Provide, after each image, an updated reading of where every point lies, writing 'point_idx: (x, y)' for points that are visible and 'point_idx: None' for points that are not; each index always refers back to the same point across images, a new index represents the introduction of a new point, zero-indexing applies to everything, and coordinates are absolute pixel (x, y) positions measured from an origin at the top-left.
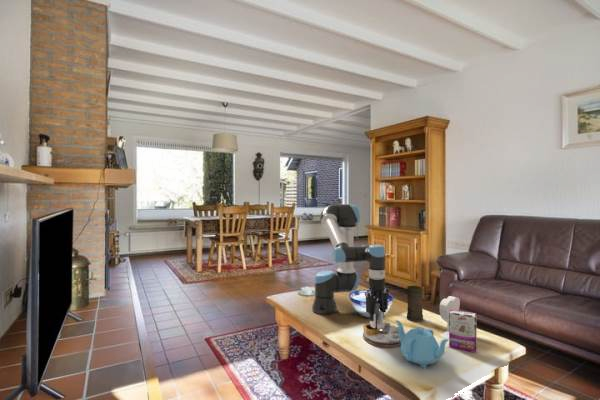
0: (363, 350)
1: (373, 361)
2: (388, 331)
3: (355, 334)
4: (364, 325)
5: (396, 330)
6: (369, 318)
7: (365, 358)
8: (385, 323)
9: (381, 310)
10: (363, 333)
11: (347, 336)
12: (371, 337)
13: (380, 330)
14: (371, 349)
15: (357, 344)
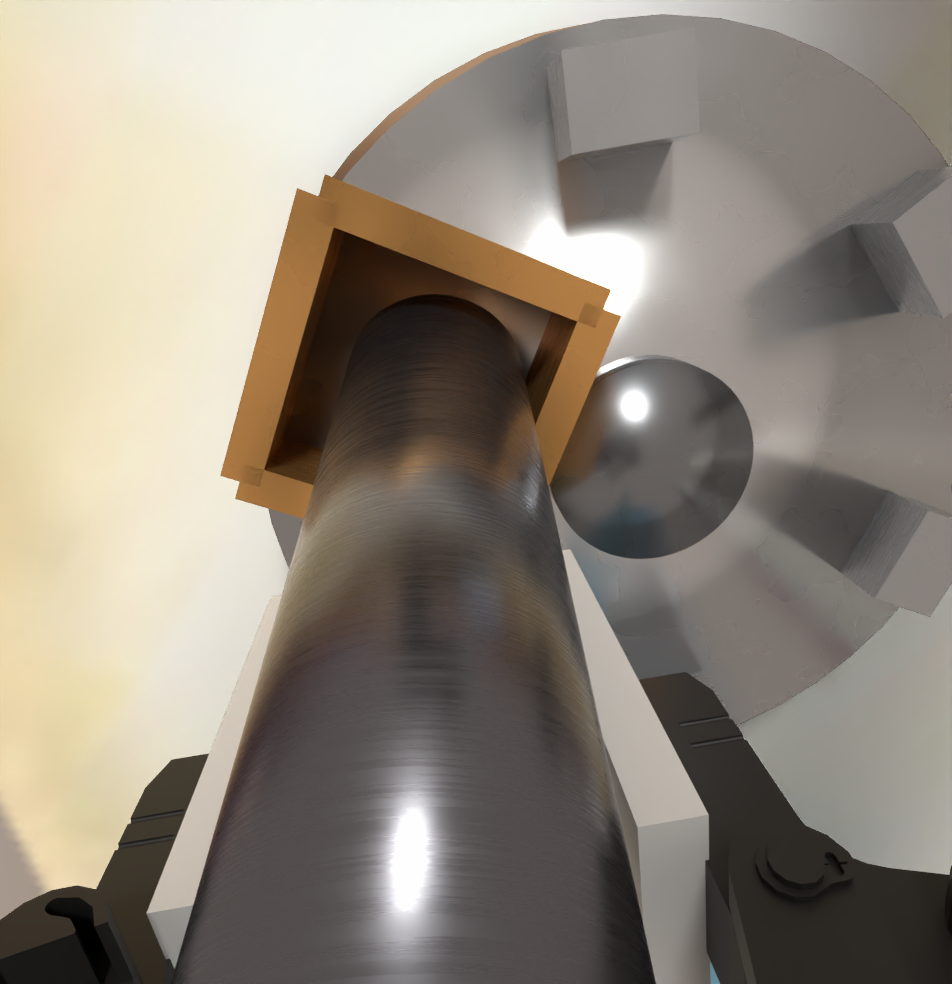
0: (90, 636)
1: (97, 876)
2: (692, 537)
3: (214, 55)
4: (296, 250)
5: (877, 497)
6: (311, 509)
7: (27, 804)
8: (902, 246)
9: (727, 959)
10: (343, 173)
11: (3, 69)
12: (288, 565)
13: (570, 477)
14: (220, 647)
15: (76, 448)
